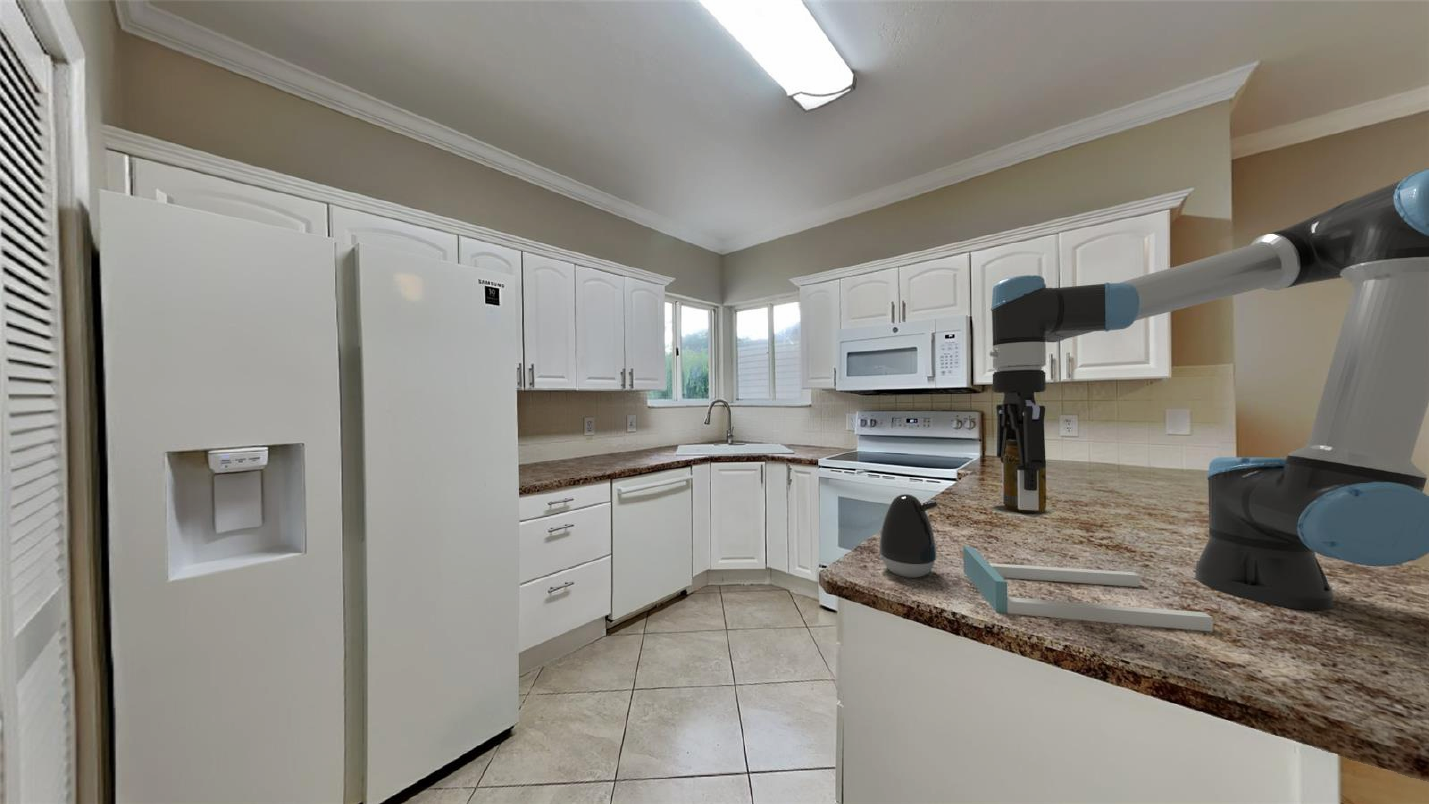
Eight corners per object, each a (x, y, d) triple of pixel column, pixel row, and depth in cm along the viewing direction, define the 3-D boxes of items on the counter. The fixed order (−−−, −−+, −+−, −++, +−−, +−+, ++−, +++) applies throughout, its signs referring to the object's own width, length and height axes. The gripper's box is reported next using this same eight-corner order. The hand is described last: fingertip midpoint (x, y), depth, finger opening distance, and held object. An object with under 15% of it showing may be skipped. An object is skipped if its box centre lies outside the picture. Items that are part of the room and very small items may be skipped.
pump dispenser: (934, 588, 81) (933, 502, 81) (873, 576, 86) (872, 496, 86) (941, 569, 89) (940, 492, 89) (886, 560, 95) (885, 487, 95)
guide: (1133, 583, 81) (1133, 555, 81) (1213, 631, 65) (1212, 596, 65) (963, 571, 88) (963, 546, 88) (996, 613, 71) (995, 581, 71)
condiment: (1056, 511, 77) (1055, 440, 77) (1034, 519, 72) (1033, 443, 72) (1009, 503, 83) (1008, 437, 83) (986, 510, 78) (985, 440, 78)
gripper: (976, 373, 88) (977, 492, 88) (1016, 366, 69) (1017, 518, 70) (1019, 371, 86) (1021, 493, 86) (1073, 365, 68) (1074, 520, 68)
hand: (1019, 504), depth 78 cm, fingers closed on condiment, 6 cm apart
